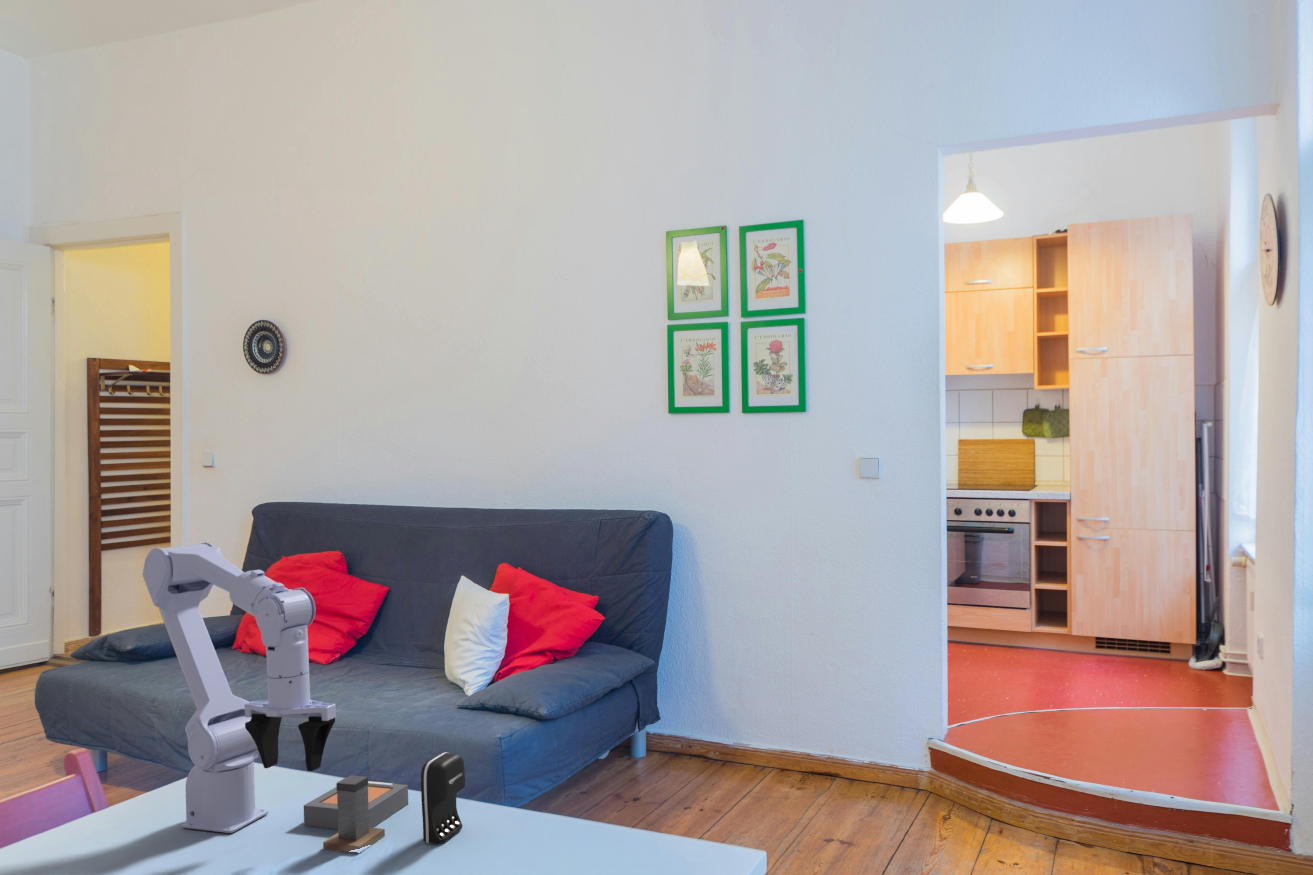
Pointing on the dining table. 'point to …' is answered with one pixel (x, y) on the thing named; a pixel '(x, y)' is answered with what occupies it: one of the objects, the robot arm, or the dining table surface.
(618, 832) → the dining table surface
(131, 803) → the dining table surface
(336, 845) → the walnut pad
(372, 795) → the button
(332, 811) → the tray
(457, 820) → the battery charger
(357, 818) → the grey rectangular block
